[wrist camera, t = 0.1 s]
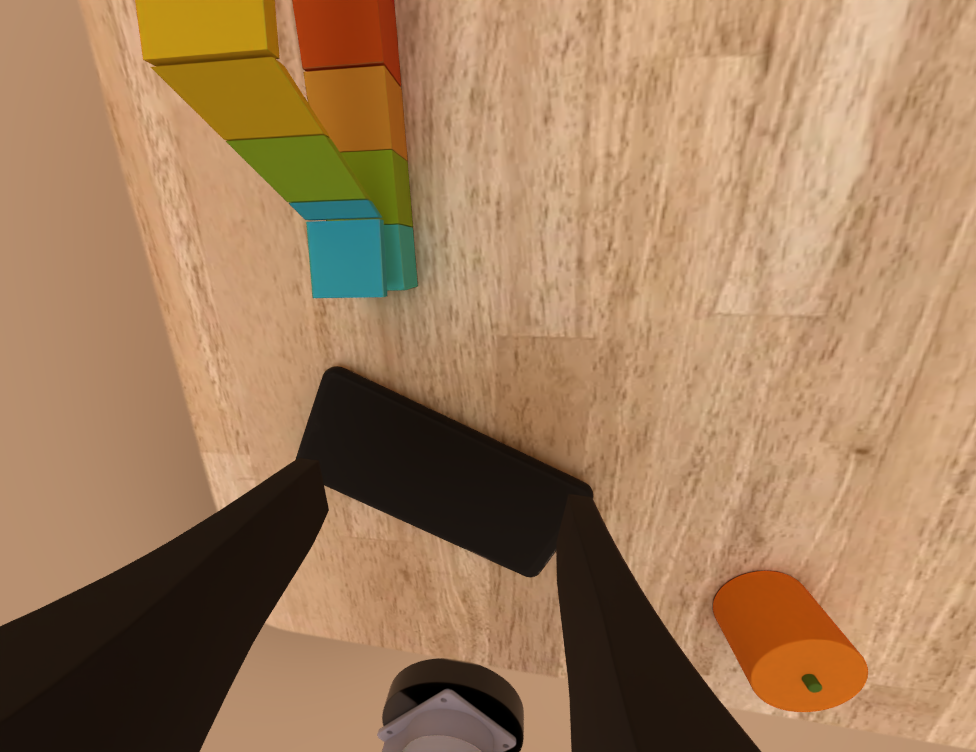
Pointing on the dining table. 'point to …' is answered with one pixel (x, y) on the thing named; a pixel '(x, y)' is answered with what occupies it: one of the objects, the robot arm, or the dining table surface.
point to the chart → (305, 121)
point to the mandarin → (788, 643)
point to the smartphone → (436, 472)
